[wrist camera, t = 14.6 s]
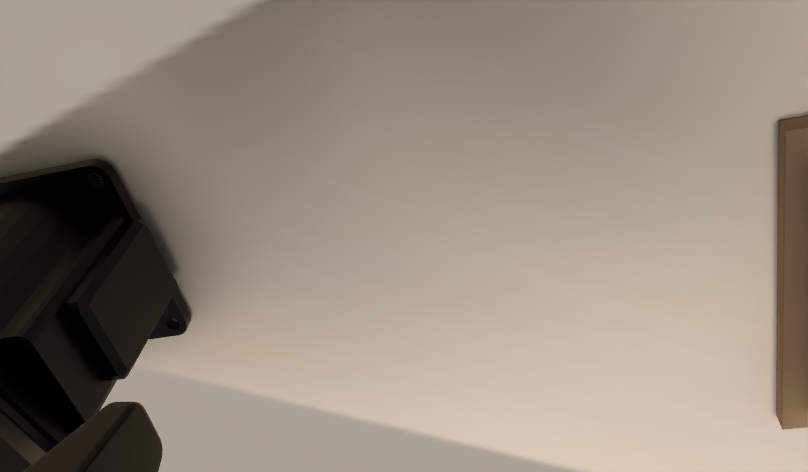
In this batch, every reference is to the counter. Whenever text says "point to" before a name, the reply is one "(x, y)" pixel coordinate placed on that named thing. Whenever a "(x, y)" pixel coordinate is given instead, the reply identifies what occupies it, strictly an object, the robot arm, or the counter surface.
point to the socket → (793, 274)
